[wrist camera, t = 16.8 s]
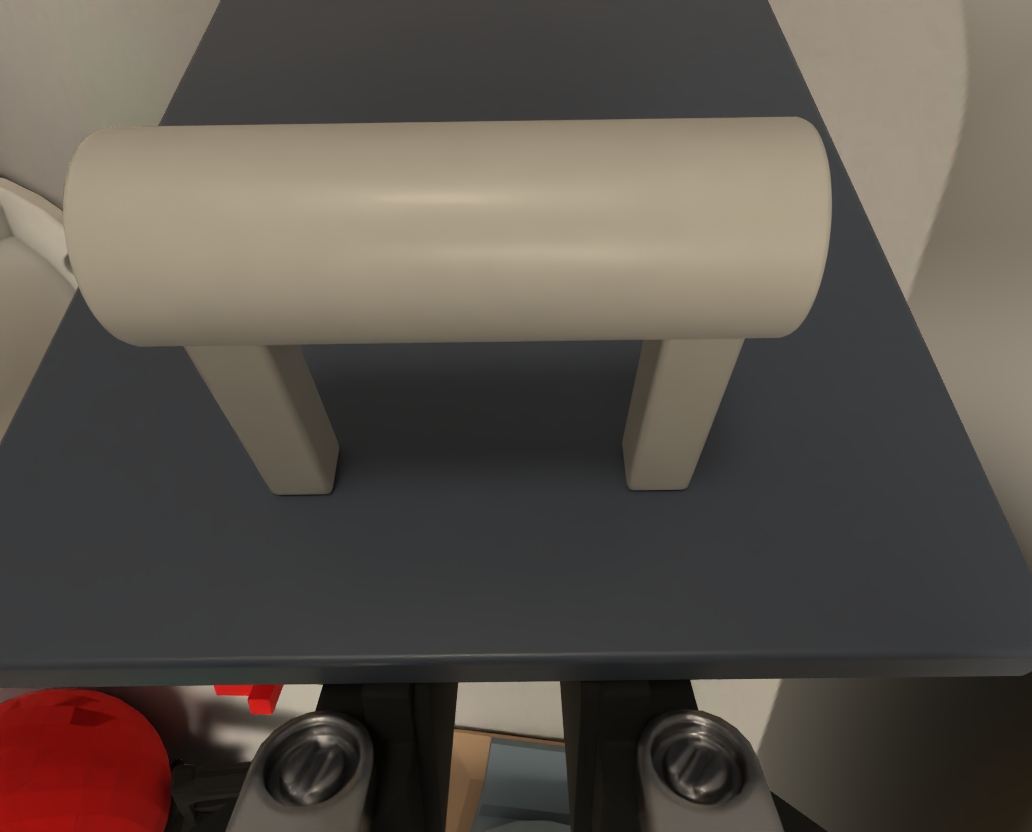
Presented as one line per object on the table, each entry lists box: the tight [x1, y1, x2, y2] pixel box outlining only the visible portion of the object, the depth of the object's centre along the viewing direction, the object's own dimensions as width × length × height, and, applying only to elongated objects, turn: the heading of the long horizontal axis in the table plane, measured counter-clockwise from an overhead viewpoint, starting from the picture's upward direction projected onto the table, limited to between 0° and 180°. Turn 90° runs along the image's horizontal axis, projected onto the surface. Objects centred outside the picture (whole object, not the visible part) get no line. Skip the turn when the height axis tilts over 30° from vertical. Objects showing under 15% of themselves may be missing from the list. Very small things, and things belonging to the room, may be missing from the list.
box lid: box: [0, 0, 1032, 688], centre depth 10 cm, size 14×12×5 cm
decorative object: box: [0, 689, 251, 832], centre depth 38 cm, size 12×16×20 cm
